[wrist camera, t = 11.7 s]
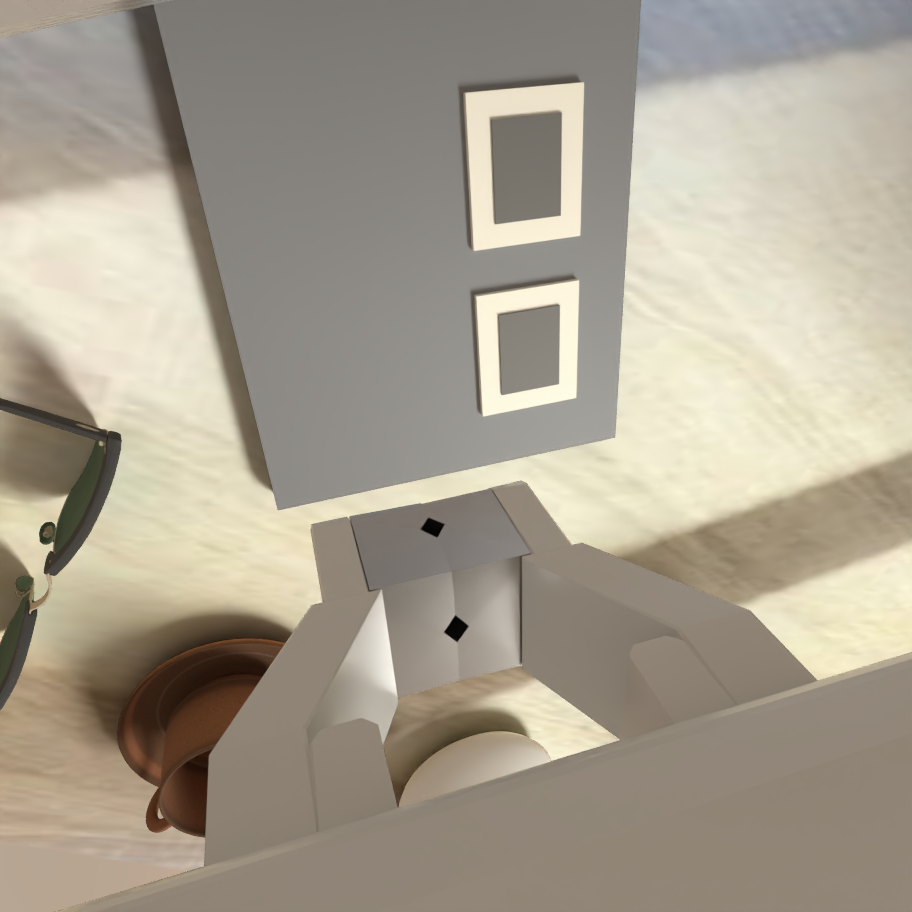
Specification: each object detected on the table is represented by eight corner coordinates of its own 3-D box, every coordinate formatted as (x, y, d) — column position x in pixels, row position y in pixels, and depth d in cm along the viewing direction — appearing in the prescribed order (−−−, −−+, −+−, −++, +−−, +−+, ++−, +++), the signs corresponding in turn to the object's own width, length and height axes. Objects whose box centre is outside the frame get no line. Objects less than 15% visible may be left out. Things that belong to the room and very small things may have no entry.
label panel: (629, -149, 25) (751, -218, 19) (602, 425, 38) (671, 489, 32) (120, -144, 21) (79, -228, 16) (275, 494, 34) (286, 581, 28)
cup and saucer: (275, 783, 44) (281, 877, 39) (84, 747, 38) (61, 852, 33) (375, 653, 41) (396, 735, 36) (185, 592, 35) (177, 680, 30)
